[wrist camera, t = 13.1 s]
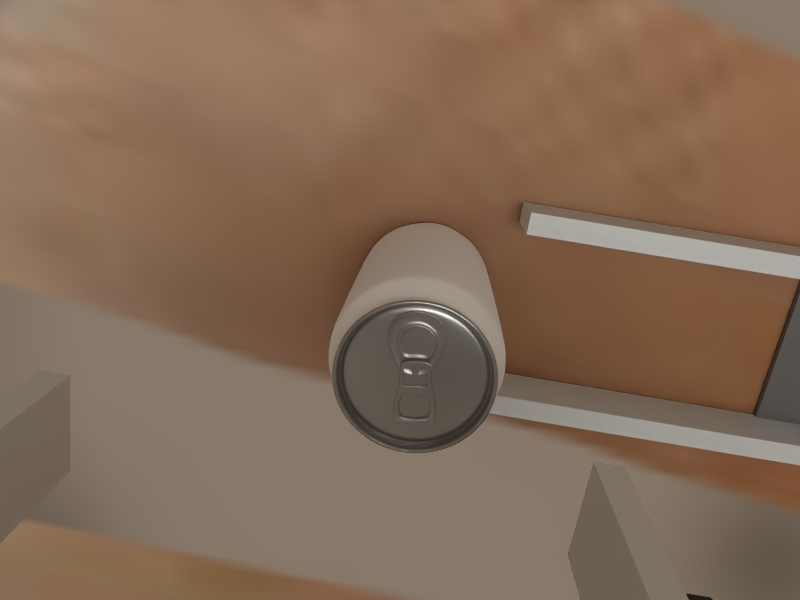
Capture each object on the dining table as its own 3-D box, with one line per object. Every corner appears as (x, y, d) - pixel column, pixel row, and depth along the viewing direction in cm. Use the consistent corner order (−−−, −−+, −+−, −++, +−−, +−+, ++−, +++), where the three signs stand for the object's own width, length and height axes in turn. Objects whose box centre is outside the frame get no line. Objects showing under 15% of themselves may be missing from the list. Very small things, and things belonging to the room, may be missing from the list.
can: (492, 222, 33) (518, 291, 21) (484, 345, 35) (504, 469, 23) (361, 218, 33) (318, 283, 22) (360, 339, 35) (320, 459, 23)
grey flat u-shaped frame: (933, 268, 32) (981, 286, 29) (858, 449, 35) (895, 481, 32) (523, 201, 32) (531, 212, 29) (484, 387, 35) (487, 413, 32)
